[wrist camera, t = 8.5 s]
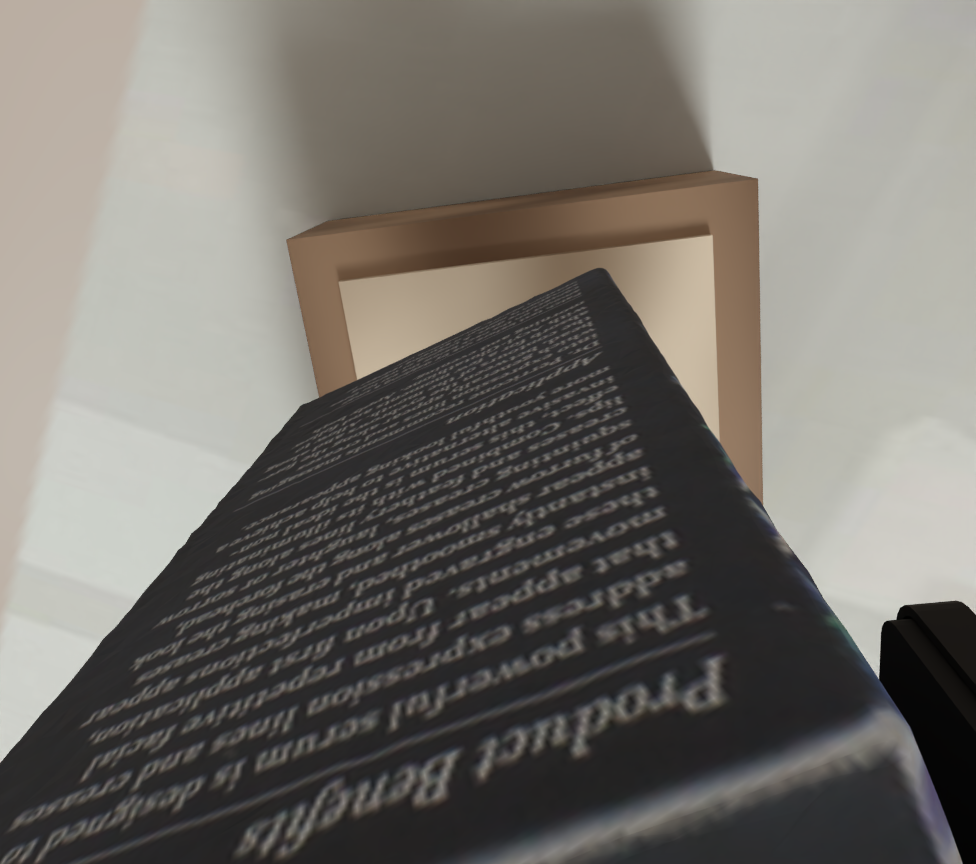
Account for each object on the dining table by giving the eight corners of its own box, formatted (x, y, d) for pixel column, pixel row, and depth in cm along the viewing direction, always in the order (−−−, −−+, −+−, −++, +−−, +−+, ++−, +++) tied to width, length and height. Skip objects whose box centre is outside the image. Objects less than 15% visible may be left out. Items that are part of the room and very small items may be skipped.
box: (780, 648, 15) (1331, 1753, 5) (496, 752, 16) (453, 1829, 6) (607, 248, 12) (966, 751, 2) (287, 401, 13) (-397, 1193, 3)
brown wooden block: (714, 170, 20) (760, 179, 17) (726, 524, 24) (766, 602, 20) (327, 221, 21) (283, 241, 17) (391, 557, 25) (367, 637, 21)
